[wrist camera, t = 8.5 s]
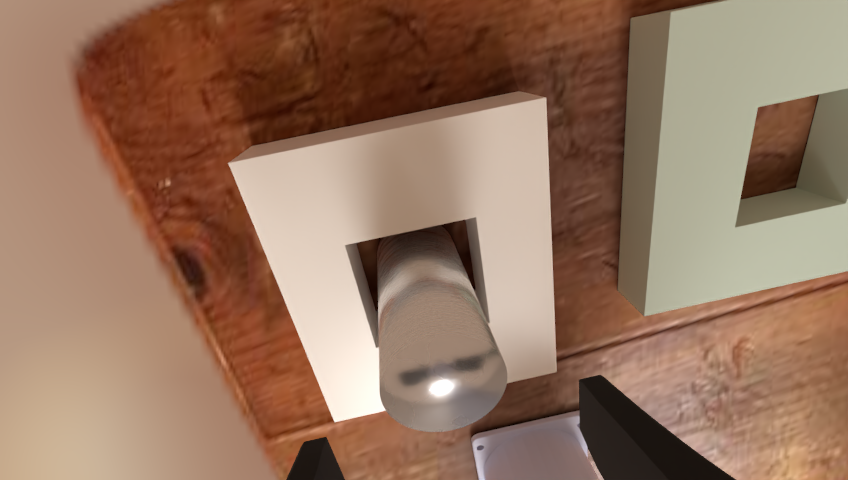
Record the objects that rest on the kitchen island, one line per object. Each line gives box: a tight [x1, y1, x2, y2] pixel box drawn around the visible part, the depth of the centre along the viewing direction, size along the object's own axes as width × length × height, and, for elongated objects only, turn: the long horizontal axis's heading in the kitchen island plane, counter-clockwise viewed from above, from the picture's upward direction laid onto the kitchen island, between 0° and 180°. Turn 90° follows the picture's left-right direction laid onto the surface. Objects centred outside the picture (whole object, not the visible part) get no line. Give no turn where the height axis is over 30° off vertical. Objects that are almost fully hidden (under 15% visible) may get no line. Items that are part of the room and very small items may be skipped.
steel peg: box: [377, 225, 507, 432], centre depth 16 cm, size 4×4×9 cm
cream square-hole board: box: [228, 91, 557, 422], centre depth 19 cm, size 14×12×3 cm
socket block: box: [618, 0, 848, 316], centre depth 19 cm, size 14×14×2 cm
